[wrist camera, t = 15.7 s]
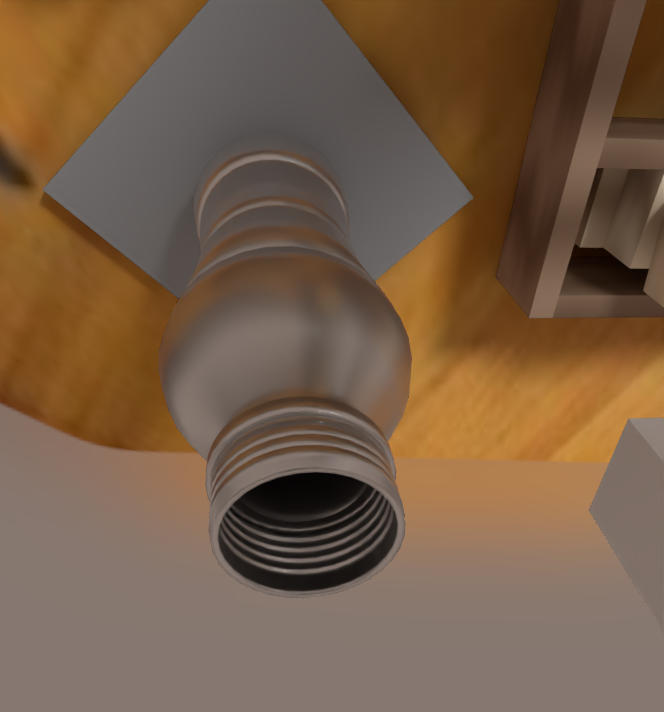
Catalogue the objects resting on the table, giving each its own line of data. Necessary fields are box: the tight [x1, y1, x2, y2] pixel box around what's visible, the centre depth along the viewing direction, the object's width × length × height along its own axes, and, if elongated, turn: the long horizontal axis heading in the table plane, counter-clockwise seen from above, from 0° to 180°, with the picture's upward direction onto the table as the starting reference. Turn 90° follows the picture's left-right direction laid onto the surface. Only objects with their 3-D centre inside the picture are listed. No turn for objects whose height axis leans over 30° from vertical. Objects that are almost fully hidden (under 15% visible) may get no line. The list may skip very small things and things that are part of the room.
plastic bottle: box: [158, 133, 412, 598], centre depth 19 cm, size 6×7×20 cm
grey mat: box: [43, 0, 474, 299], centre depth 28 cm, size 14×14×1 cm
